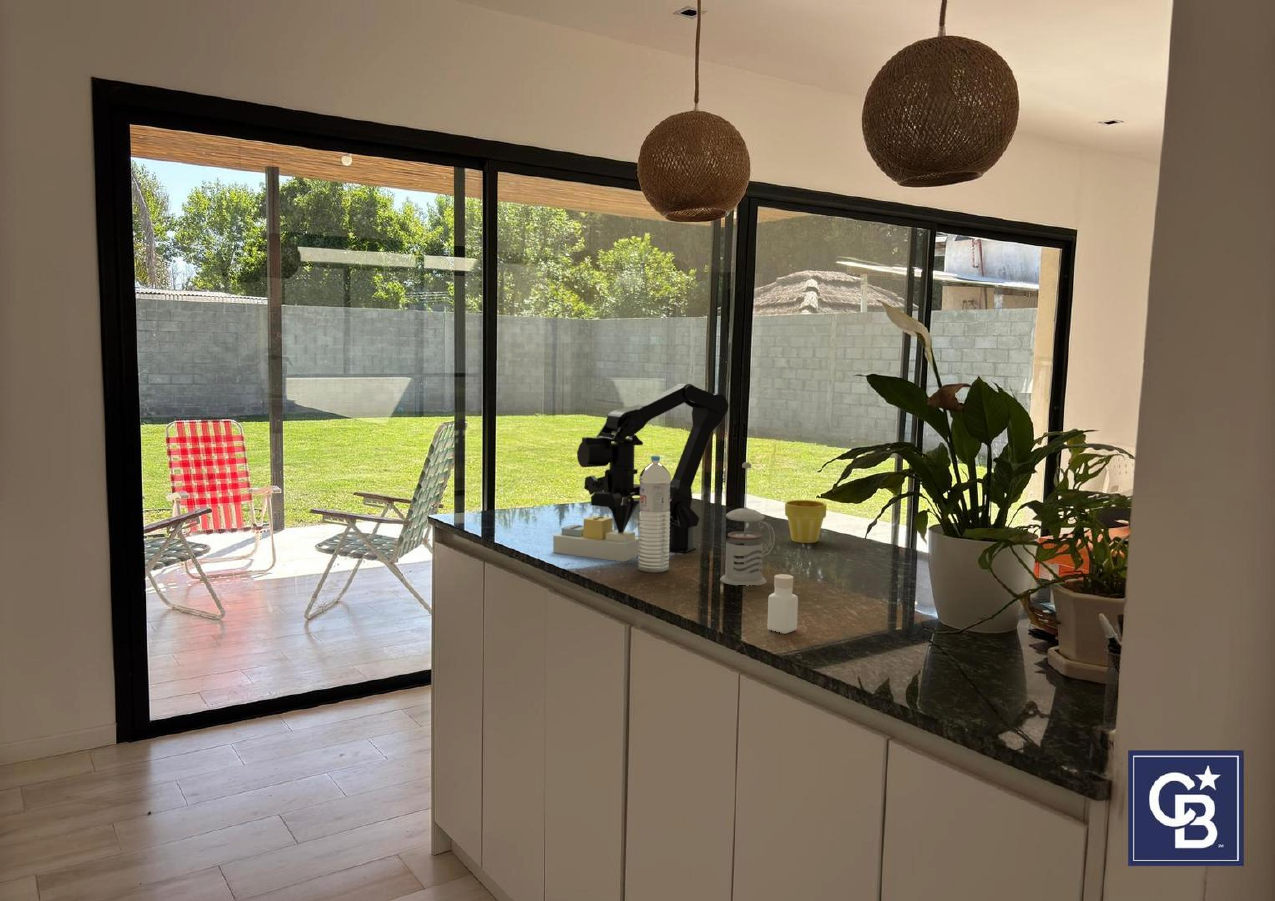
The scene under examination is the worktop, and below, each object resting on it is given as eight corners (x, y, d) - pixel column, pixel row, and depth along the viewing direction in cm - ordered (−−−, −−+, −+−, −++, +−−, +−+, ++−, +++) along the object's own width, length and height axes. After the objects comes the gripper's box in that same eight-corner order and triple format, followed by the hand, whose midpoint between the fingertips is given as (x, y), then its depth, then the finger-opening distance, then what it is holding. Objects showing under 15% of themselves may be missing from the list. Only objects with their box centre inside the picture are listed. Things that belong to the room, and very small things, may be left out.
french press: (712, 576, 200) (715, 460, 197) (760, 572, 204) (764, 458, 201) (732, 587, 190) (736, 465, 188) (782, 583, 195) (787, 464, 192)
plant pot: (795, 545, 233) (797, 506, 232) (776, 537, 243) (778, 500, 242) (832, 543, 236) (834, 505, 235) (812, 535, 246) (813, 499, 245)
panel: (642, 554, 220) (642, 537, 220) (624, 561, 212) (624, 544, 212) (572, 545, 229) (573, 529, 228) (553, 552, 221) (553, 535, 220)
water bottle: (666, 574, 201) (668, 458, 198) (634, 572, 202) (636, 457, 200) (671, 567, 207) (673, 455, 205) (641, 565, 209) (643, 453, 206)
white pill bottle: (798, 630, 162) (800, 576, 161) (785, 635, 159) (787, 580, 158) (778, 625, 164) (780, 572, 163) (765, 630, 161) (767, 576, 160)
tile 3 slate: (590, 547, 224) (590, 525, 223) (579, 551, 220) (579, 529, 219) (572, 545, 226) (572, 523, 226) (561, 548, 222) (561, 527, 221)
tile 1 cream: (634, 553, 219) (635, 531, 218) (624, 557, 214) (625, 534, 214) (615, 550, 221) (616, 528, 220) (605, 554, 216) (605, 532, 216)
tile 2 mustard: (612, 538, 221) (612, 517, 220) (602, 542, 217) (602, 520, 216) (594, 536, 223) (594, 515, 223) (583, 540, 219) (583, 518, 218)
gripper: (610, 458, 227) (609, 522, 229) (570, 466, 211) (570, 535, 212) (651, 462, 222) (650, 526, 224) (614, 470, 206) (613, 540, 207)
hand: (620, 531), depth 217 cm, fingers closed, pressing on tile 1 cream
